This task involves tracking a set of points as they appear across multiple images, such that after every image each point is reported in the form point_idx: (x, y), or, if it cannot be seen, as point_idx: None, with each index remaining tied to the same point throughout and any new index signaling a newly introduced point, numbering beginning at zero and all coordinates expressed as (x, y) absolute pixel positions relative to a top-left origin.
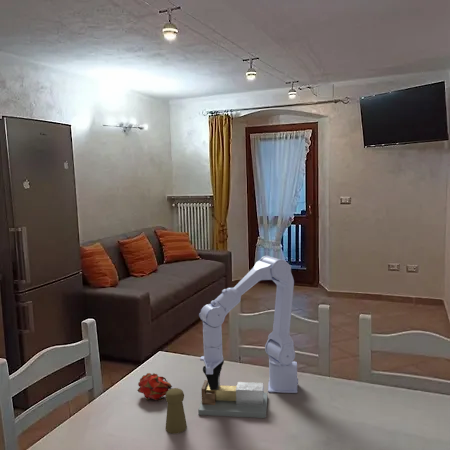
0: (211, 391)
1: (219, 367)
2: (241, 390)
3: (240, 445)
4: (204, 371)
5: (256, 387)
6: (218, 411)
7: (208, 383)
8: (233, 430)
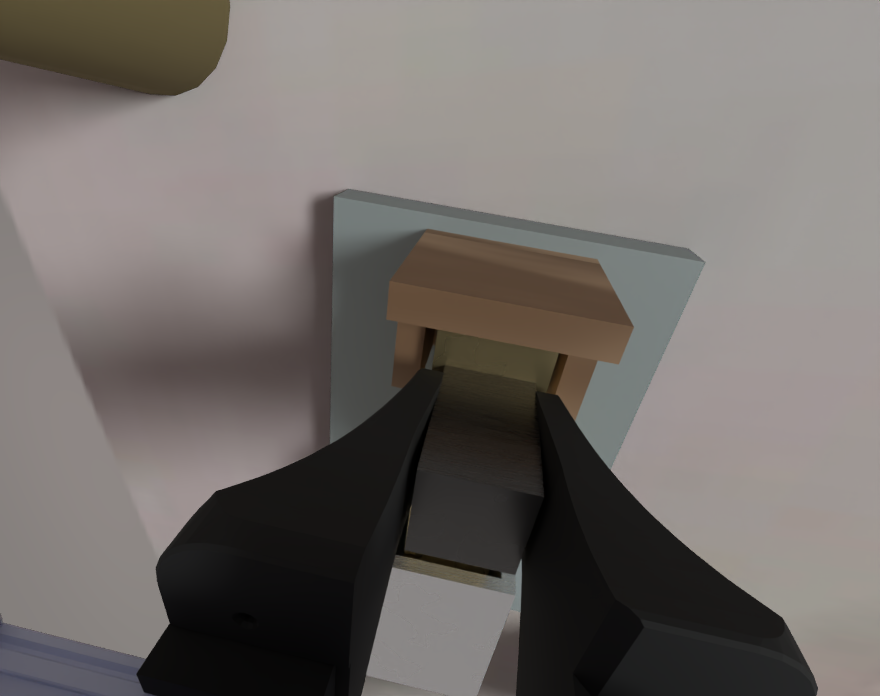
0: (433, 364)
1: (525, 675)
2: None
3: (97, 416)
4: (193, 525)
5: (409, 662)
6: (333, 351)
7: (395, 395)
8: (206, 401)
